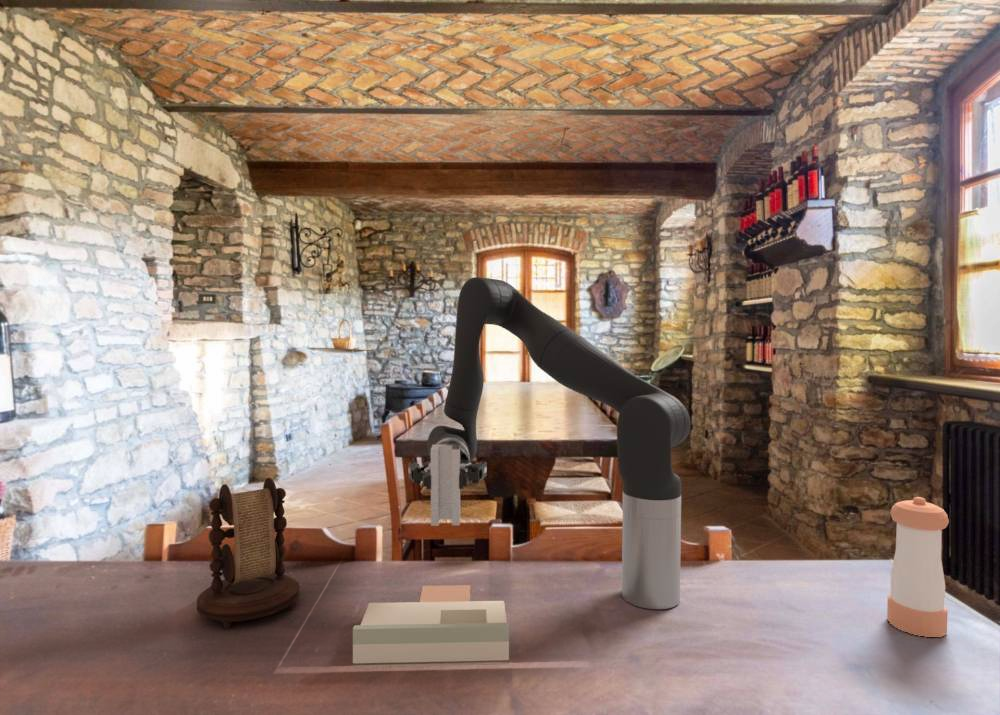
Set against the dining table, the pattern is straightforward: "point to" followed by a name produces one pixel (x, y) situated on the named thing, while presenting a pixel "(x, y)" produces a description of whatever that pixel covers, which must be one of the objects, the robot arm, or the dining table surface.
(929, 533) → the salt shaker
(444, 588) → the tile
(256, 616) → the scroll
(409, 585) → the dining table surface
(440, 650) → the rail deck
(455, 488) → the clip
